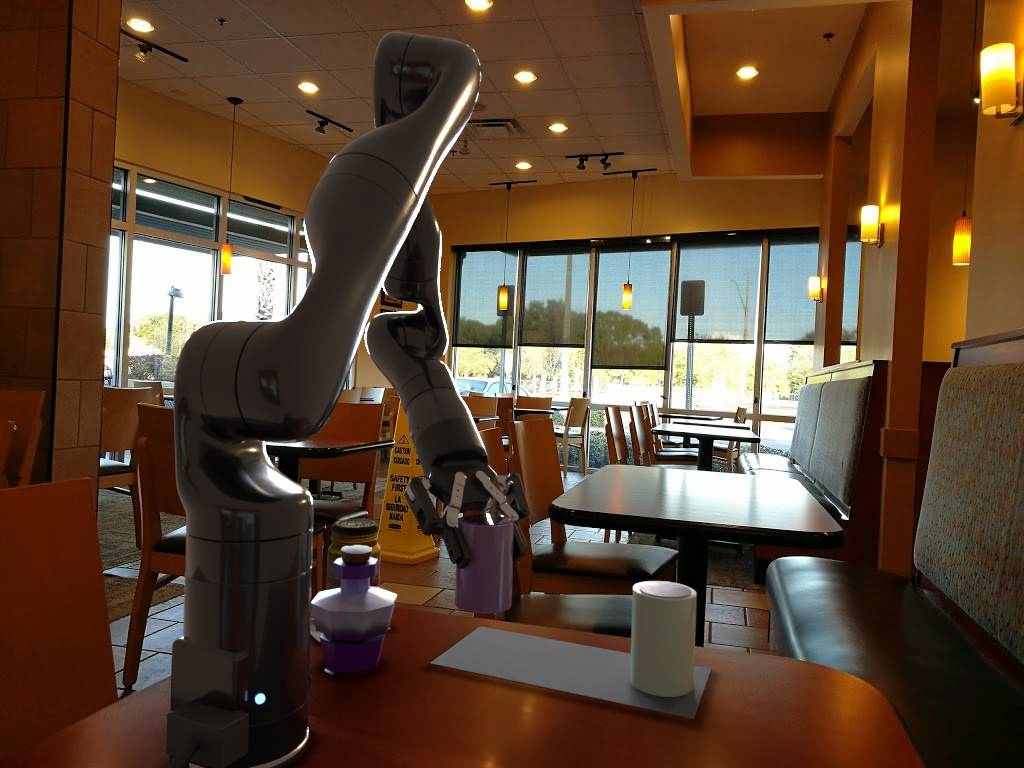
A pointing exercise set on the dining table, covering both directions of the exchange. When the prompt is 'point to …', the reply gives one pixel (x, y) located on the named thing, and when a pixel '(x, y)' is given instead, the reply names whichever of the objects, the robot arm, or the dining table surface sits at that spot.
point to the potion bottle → (353, 613)
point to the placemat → (564, 669)
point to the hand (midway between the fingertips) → (493, 560)
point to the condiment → (350, 535)
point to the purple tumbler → (486, 564)
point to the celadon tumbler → (663, 638)
